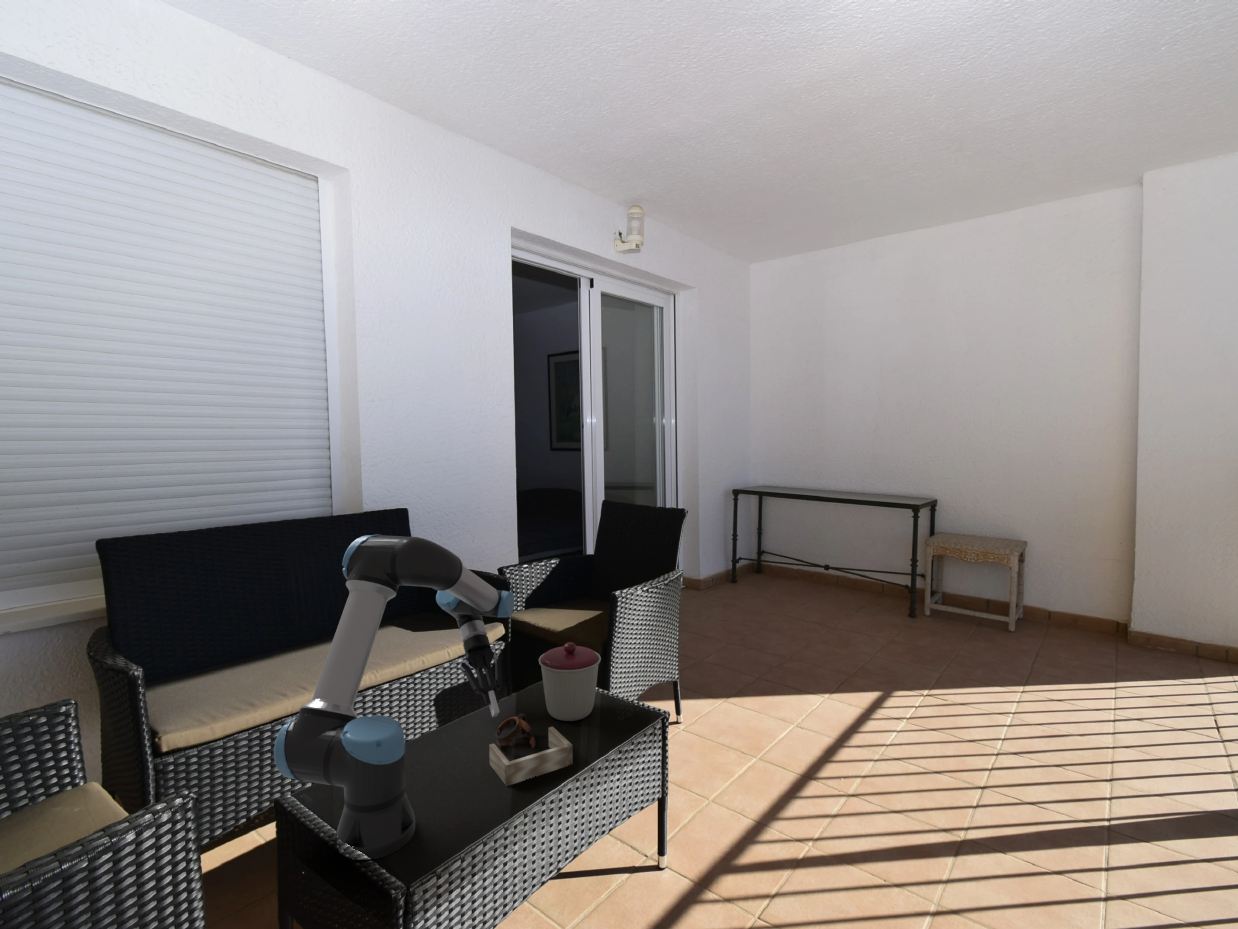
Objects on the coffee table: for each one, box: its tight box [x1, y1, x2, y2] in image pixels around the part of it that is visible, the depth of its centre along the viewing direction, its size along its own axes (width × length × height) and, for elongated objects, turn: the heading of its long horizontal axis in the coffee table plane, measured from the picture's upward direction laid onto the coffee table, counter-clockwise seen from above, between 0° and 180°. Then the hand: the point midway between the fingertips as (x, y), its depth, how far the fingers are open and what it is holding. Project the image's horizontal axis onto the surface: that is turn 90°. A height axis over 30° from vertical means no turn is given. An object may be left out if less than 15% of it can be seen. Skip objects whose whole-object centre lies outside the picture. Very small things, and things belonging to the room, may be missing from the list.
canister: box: [538, 641, 602, 722], centre depth 181 cm, size 18×18×21 cm
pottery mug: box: [494, 713, 536, 749], centre depth 164 cm, size 12×10×8 cm
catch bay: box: [488, 726, 574, 787], centre depth 154 cm, size 17×11×5 cm, turn 122°
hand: (495, 714), depth 174 cm, fingers closed
